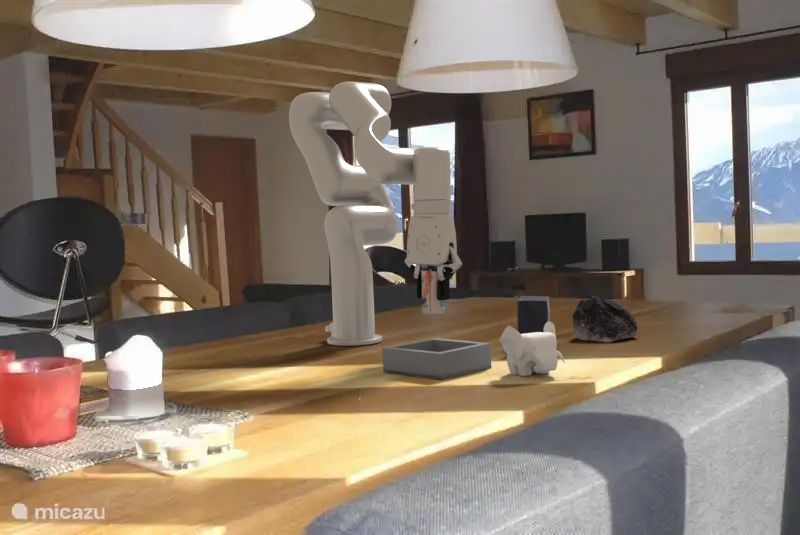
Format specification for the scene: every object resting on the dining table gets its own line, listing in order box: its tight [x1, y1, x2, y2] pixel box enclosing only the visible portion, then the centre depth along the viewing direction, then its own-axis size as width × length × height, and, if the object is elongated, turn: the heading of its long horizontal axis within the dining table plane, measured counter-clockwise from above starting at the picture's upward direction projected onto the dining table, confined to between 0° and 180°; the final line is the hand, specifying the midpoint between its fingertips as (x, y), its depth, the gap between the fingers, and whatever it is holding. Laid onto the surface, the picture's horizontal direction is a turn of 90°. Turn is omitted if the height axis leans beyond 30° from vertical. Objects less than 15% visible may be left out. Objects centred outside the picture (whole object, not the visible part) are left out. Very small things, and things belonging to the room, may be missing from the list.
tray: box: [381, 337, 492, 381], centre depth 158 cm, size 14×14×4 cm
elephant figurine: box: [499, 320, 566, 377], centre depth 150 cm, size 10×12×9 cm
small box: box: [516, 295, 551, 334], centre depth 181 cm, size 11×6×10 cm, turn 168°
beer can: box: [421, 263, 446, 317], centre depth 176 cm, size 5×5×12 cm
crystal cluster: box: [572, 295, 638, 343], centre depth 191 cm, size 13×14×10 cm
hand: (433, 297), depth 176 cm, fingers closed on beer can, 4 cm apart
